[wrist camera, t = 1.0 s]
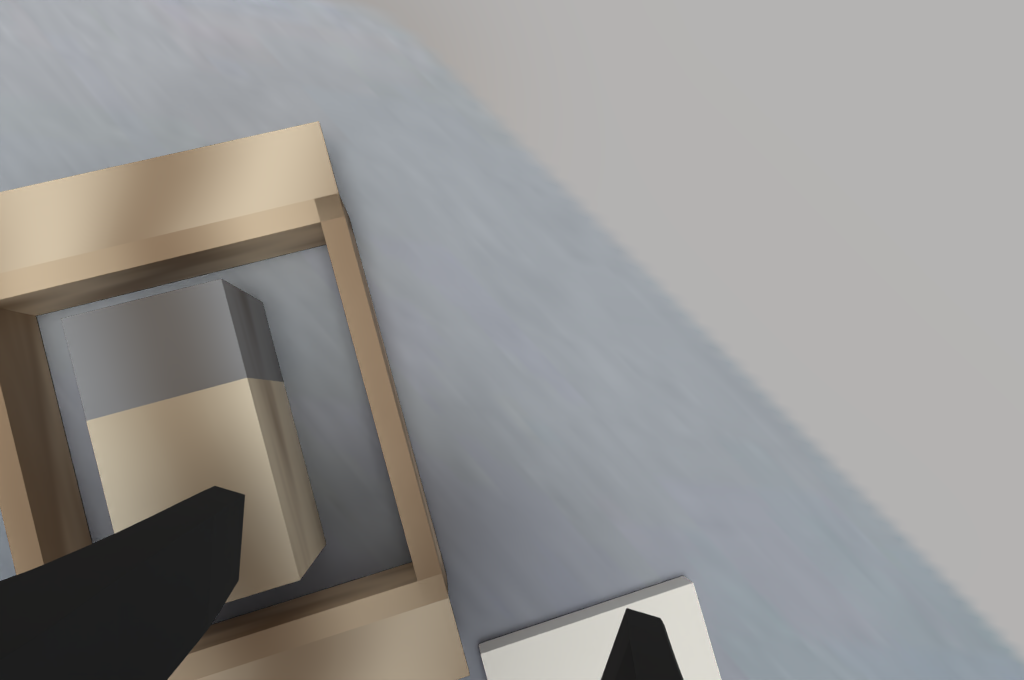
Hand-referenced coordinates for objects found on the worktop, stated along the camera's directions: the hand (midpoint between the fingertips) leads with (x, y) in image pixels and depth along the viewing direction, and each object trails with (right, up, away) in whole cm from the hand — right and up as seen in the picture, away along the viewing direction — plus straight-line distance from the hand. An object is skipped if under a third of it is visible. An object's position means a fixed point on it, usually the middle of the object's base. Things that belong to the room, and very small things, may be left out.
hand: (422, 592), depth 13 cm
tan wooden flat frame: (-8, +1, +12) cm, 15 cm away
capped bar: (-8, +1, +12) cm, 15 cm away
